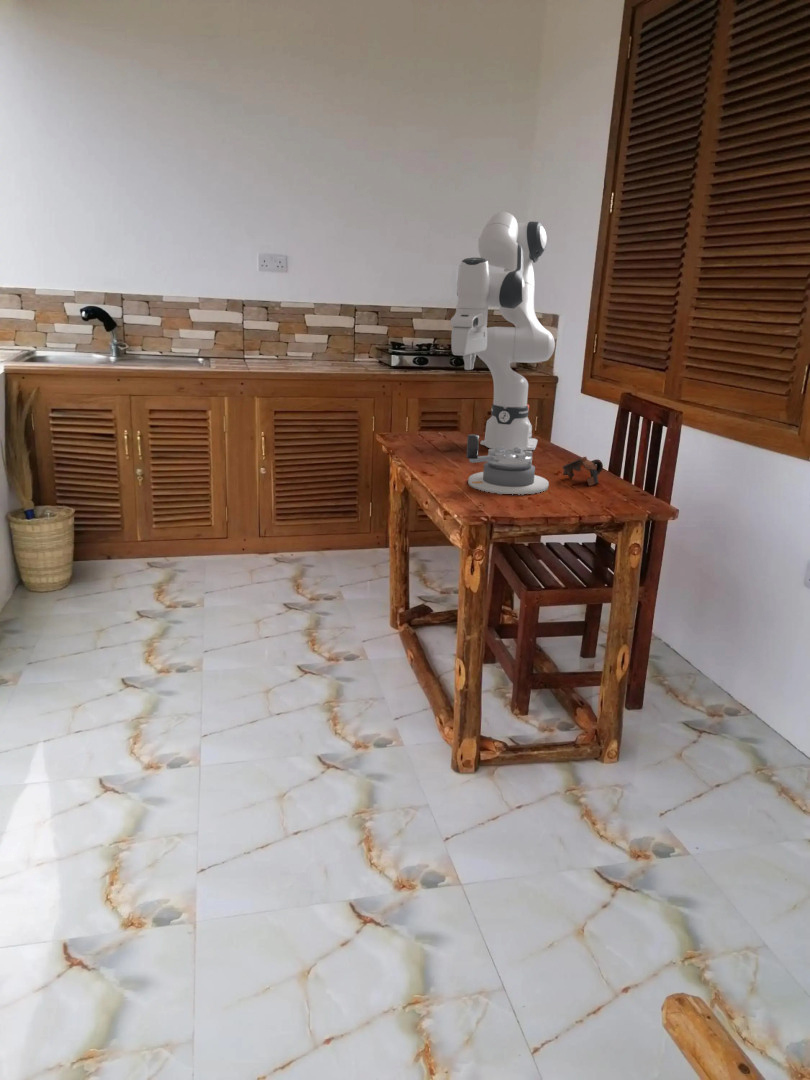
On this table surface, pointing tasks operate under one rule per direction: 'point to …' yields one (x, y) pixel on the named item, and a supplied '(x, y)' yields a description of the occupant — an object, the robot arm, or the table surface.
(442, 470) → the table surface
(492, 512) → the table surface
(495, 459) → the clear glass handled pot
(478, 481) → the base plate
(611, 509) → the table surface
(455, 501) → the table surface
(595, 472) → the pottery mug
